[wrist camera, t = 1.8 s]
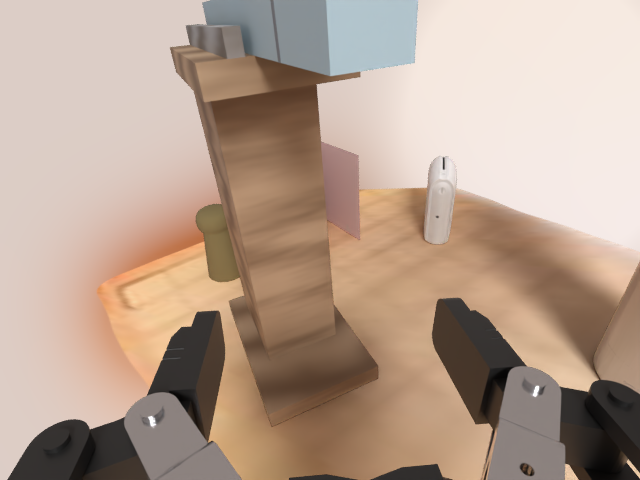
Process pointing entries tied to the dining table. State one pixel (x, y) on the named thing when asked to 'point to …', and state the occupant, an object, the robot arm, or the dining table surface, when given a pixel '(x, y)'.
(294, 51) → the light blue block
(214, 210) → the cork
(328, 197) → the greeting card
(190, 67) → the dispenser stand
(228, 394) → the dining table surface
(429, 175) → the photo printer
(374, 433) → the dining table surface
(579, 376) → the dining table surface
